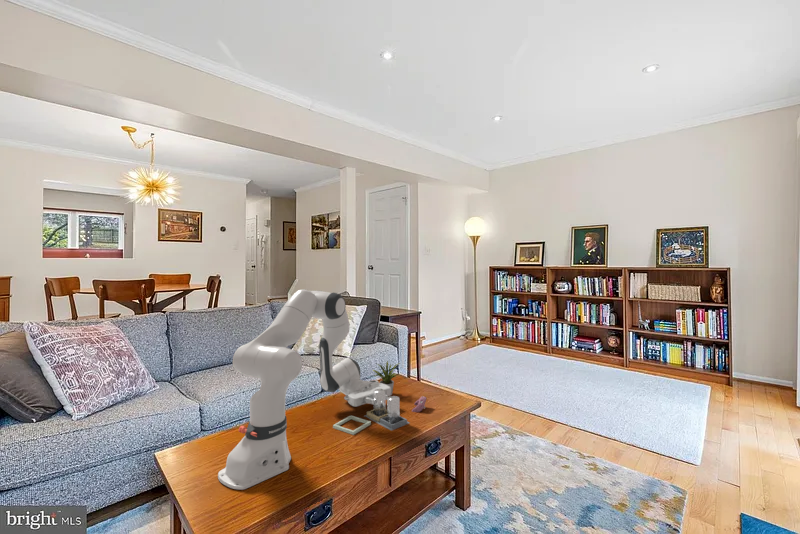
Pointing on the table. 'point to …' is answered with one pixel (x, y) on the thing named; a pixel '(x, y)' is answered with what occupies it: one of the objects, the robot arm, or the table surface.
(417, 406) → the video game controller
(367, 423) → the tray
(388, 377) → the house plant
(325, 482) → the table surface
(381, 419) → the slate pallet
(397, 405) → the cylinder
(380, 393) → the steel billet
